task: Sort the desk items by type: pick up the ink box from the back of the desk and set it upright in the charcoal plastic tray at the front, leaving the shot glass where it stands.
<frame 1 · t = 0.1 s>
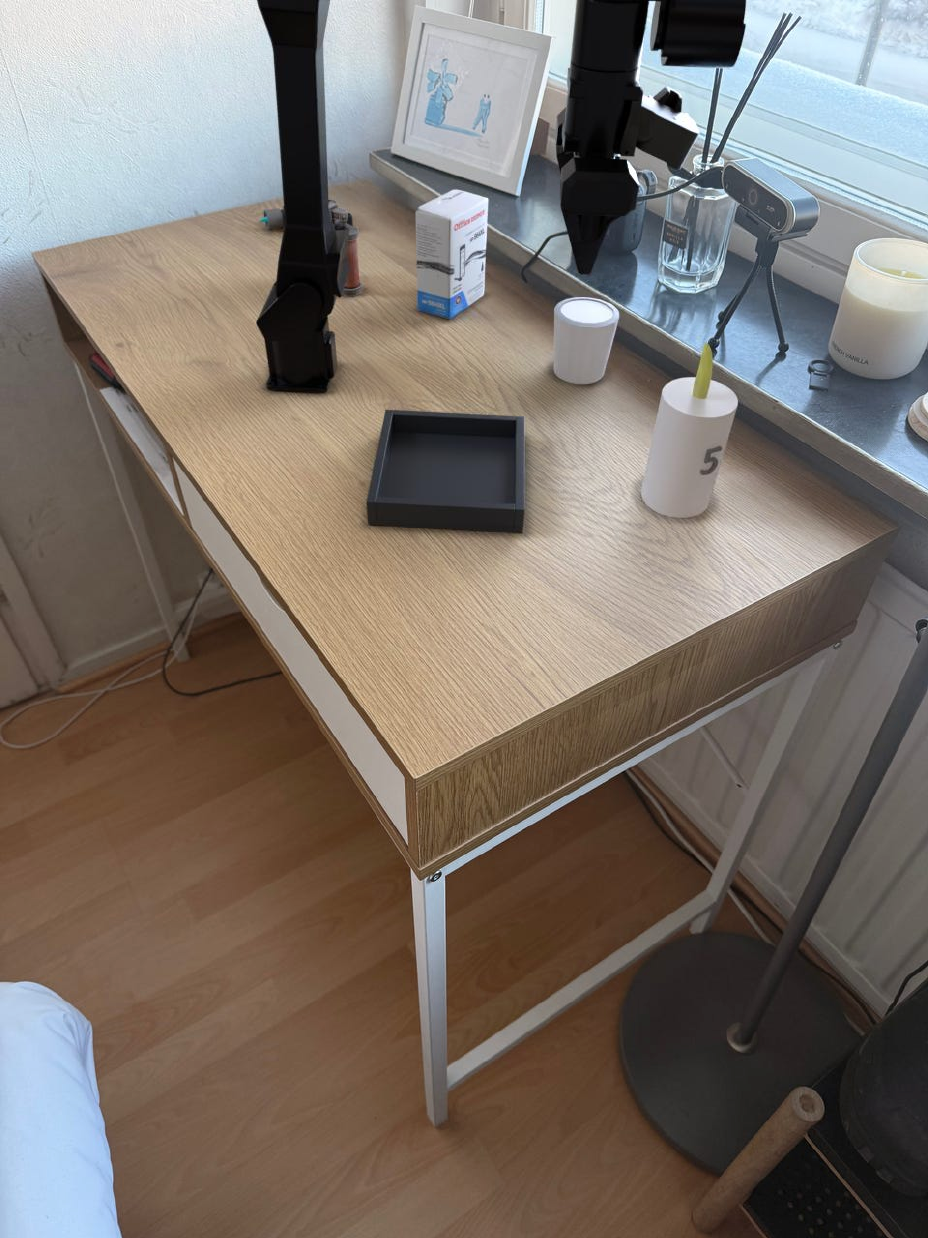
hand: (581, 252, 83), 15 cm above the table, tool pointing down, fingers open, 9 cm apart
shot glass: (578, 372, 96), on the table
toy gun: (308, 233, 120), on the table
ink box: (451, 303, 107), on the table
candle: (675, 498, 80), on the table
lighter: (333, 287, 109), on the table
tray: (449, 479, 81), on the table
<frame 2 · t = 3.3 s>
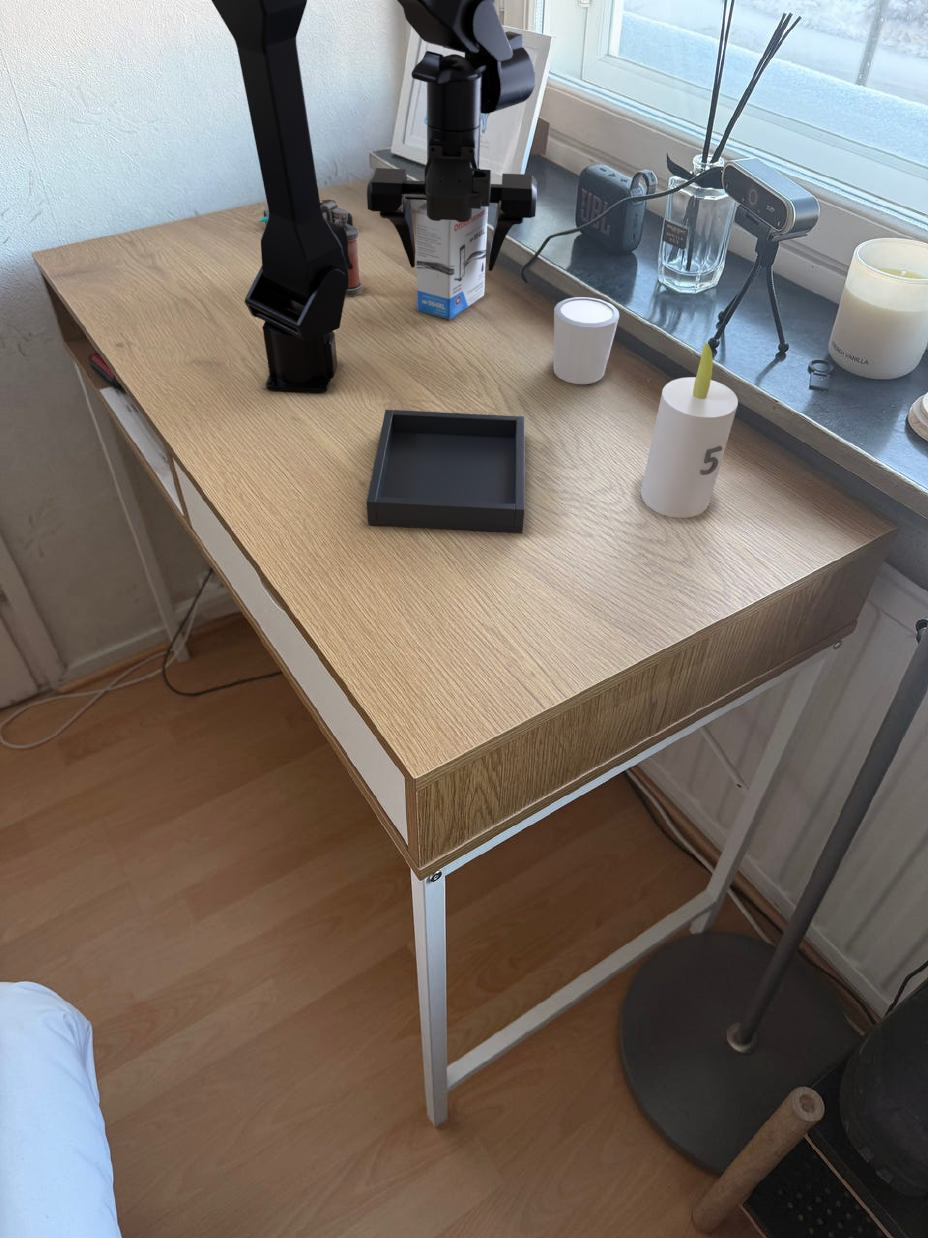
hand: (451, 267, 103), 4 cm above the table, tool pointing down
ink box: (451, 304, 107), on the table, touching gripper
everything else where it was.
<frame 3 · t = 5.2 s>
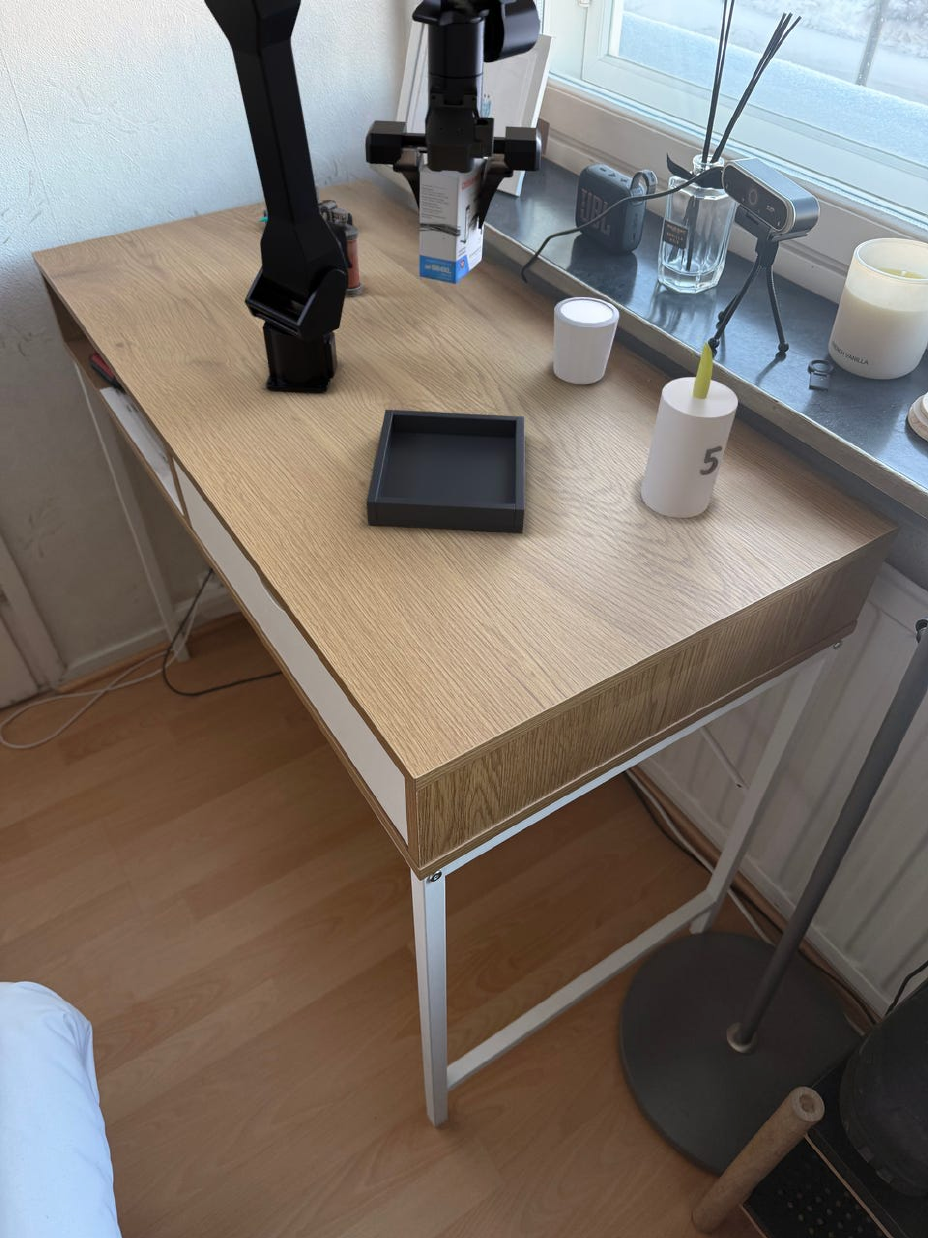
hand: (452, 226, 100), 9 cm above the table, tool pointing down, fingers closed on ink box, 6 cm apart
ink box: (450, 269, 104), point 4 cm above the table, touching gripper
everything else where it was.
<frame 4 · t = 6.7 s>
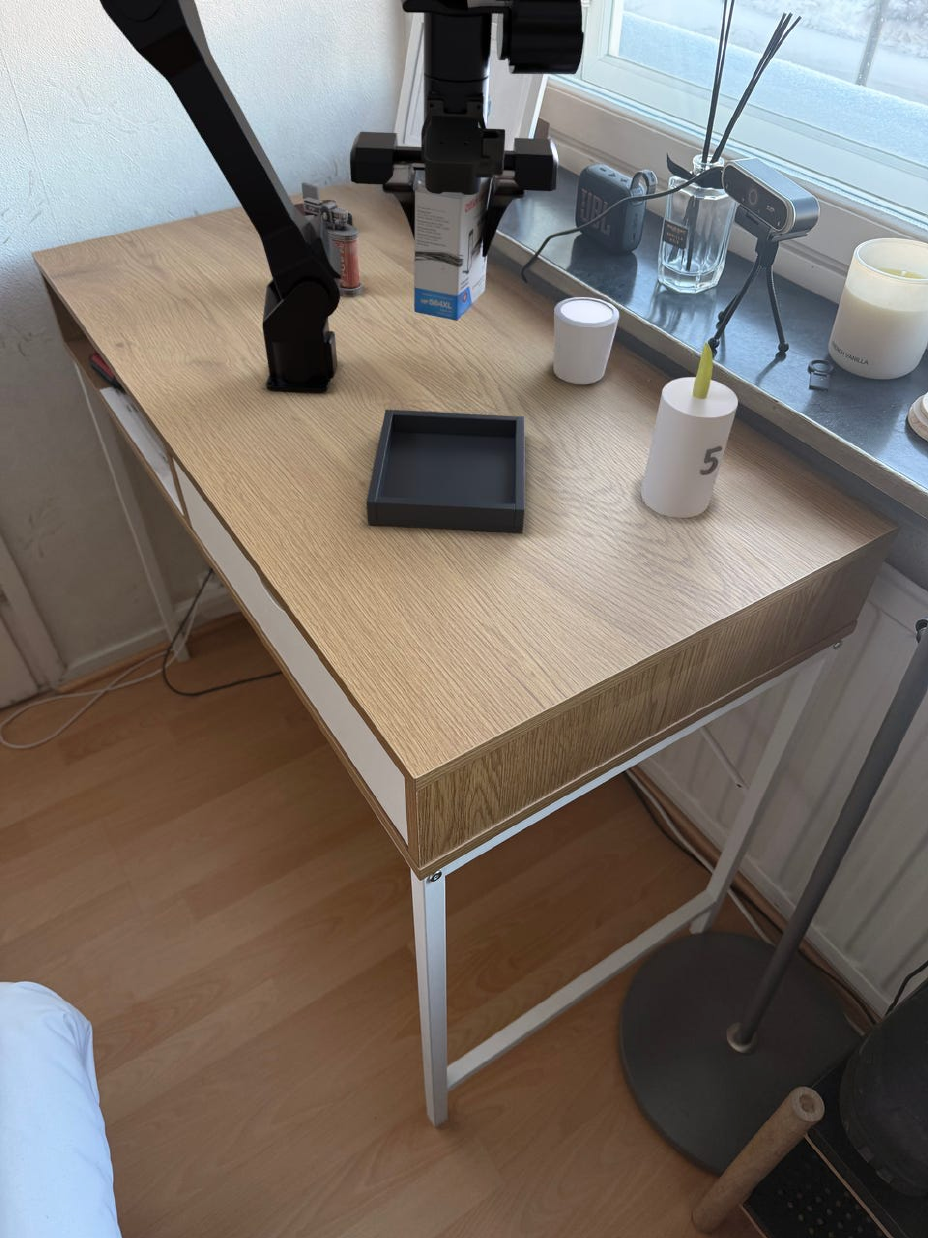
hand: (452, 254, 86), 13 cm above the table, tool pointing down, fingers closed on ink box, 6 cm apart
ink box: (449, 302, 89), point 8 cm above the table, touching gripper
everything else where it was.
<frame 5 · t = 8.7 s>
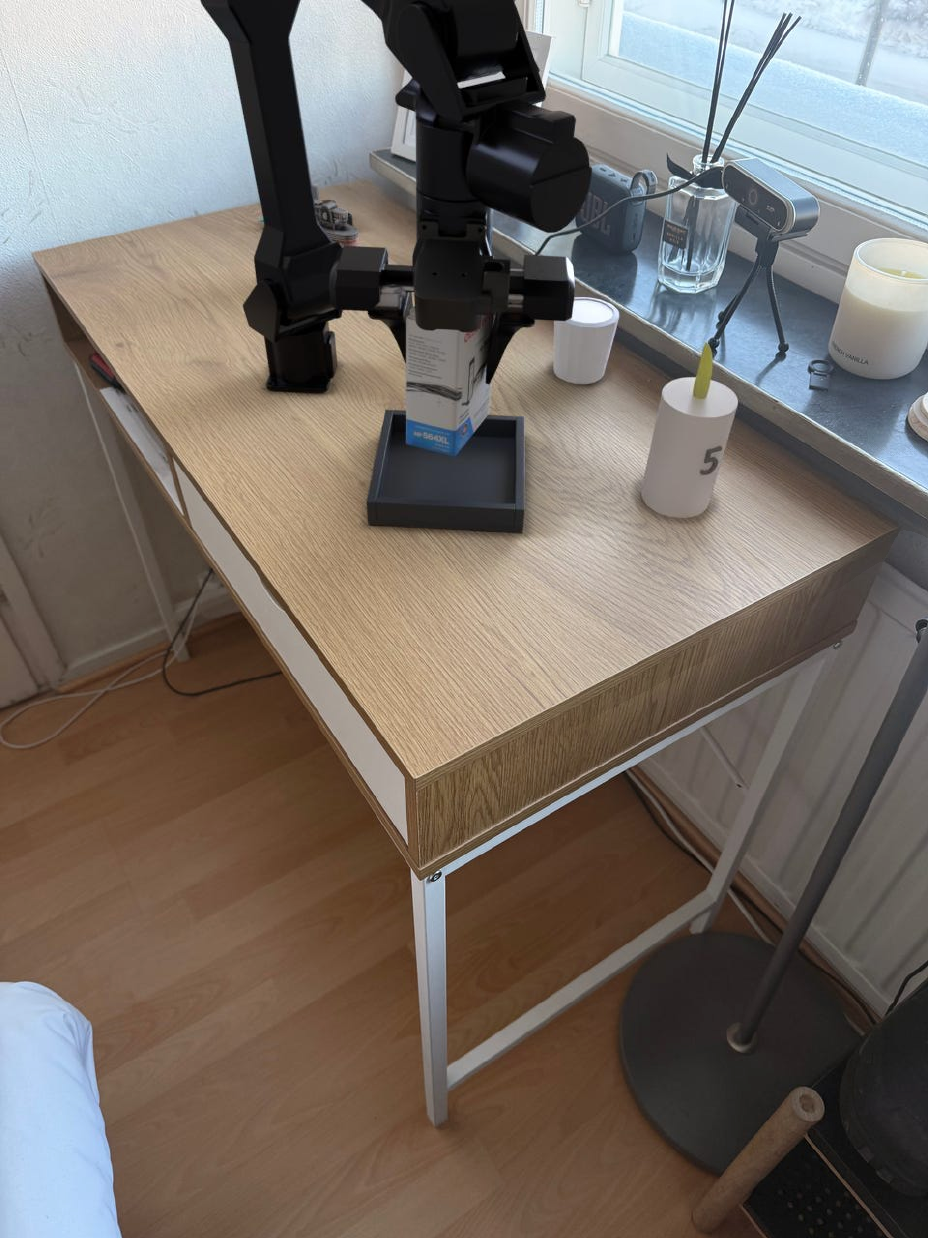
hand: (451, 379, 74), 10 cm above the table, tool pointing down, fingers closed on ink box, 6 cm apart
ink box: (448, 429, 78), point 5 cm above the table, touching gripper
everything else where it was.
when the fingers open (6 cm above the table, at t = 10.2 s): ink box stays where it is, resting on tray.
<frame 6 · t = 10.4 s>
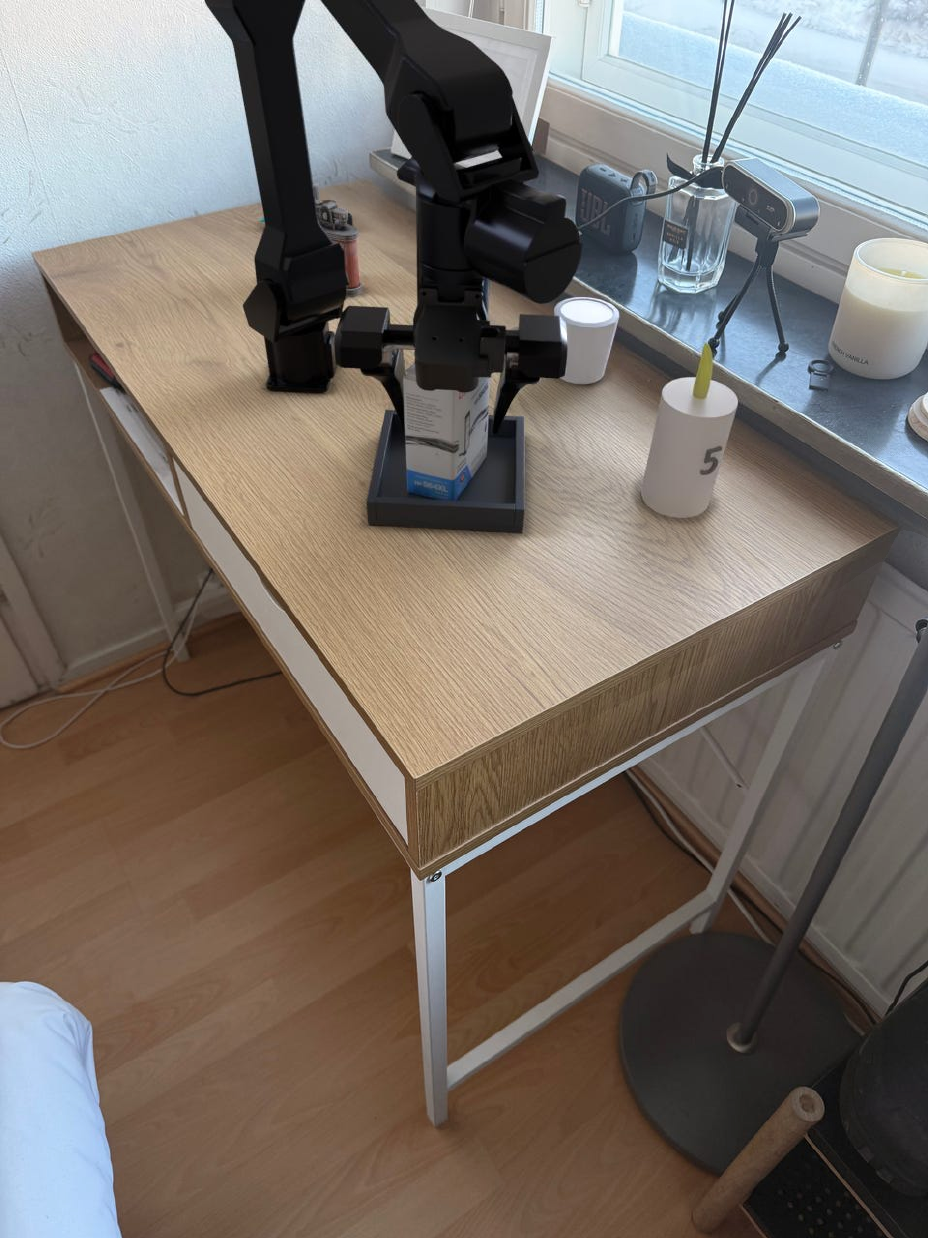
hand: (450, 429, 77), 5 cm above the table, tool pointing down, fingers open, 7 cm apart
ink box: (447, 475, 81), resting on tray
everything else where it was.
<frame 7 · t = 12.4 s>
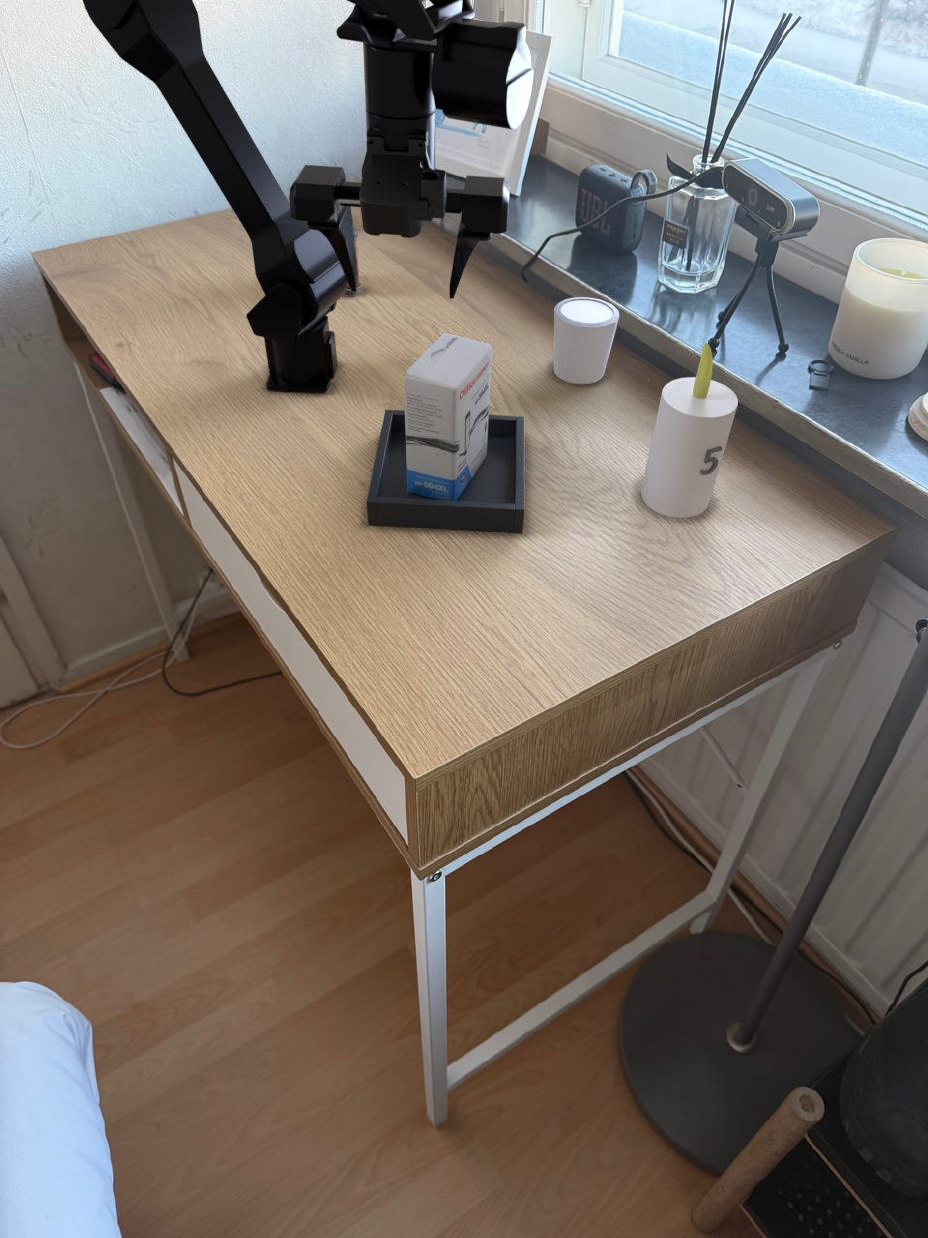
hand: (403, 293, 82), 12 cm above the table, tool pointing down, fingers open, 9 cm apart
nothing on the table moved.
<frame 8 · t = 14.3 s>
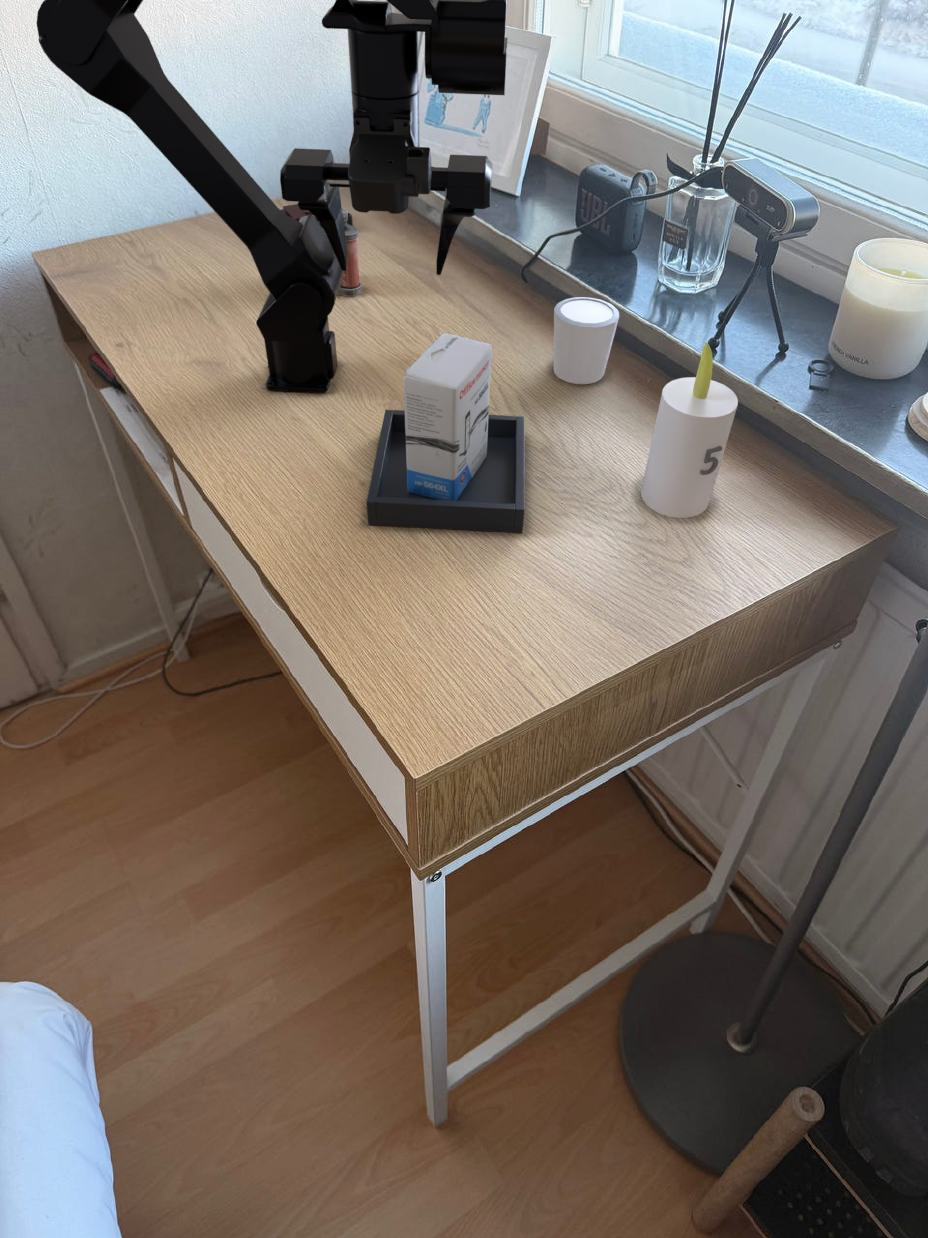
hand: (392, 271, 85), 12 cm above the table, tool pointing down, fingers open, 9 cm apart
nothing on the table moved.
at the end: ink box inside the target area in the tray (0.2 cm from its centre), point 0.4 cm above the tray's base; ink box tilted 0°; shot glass moved 0.2 cm from its start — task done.
